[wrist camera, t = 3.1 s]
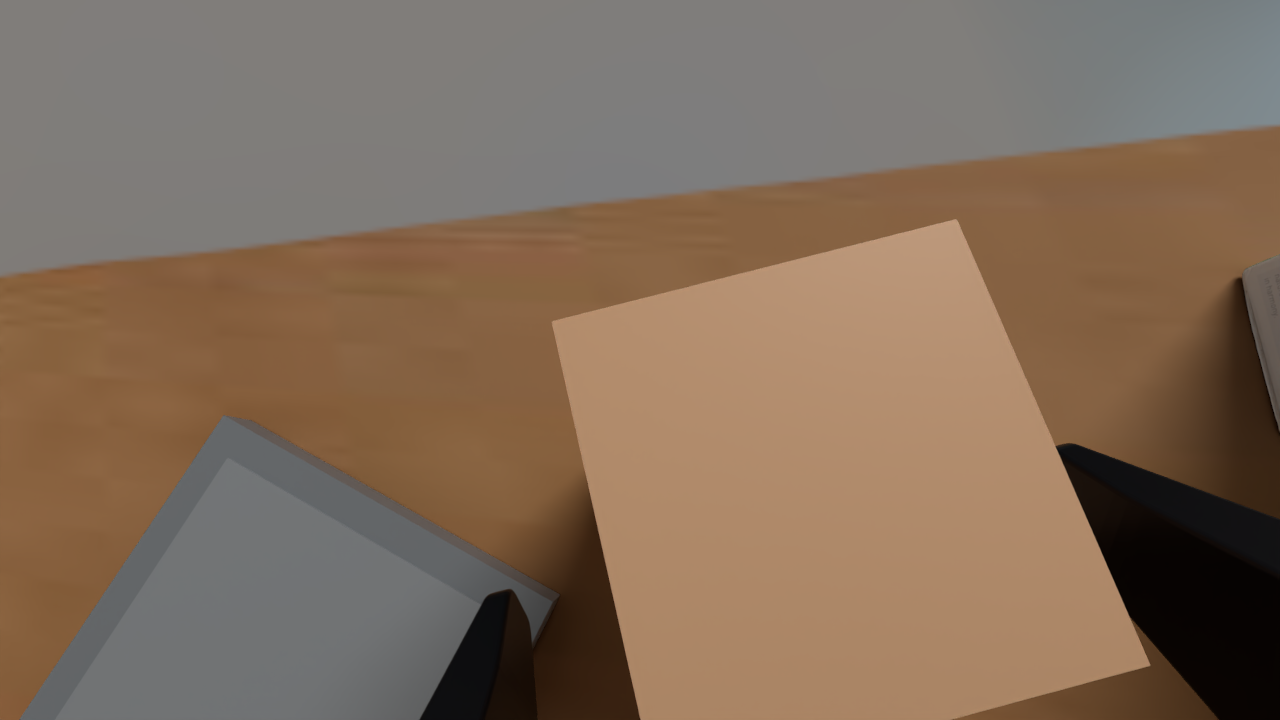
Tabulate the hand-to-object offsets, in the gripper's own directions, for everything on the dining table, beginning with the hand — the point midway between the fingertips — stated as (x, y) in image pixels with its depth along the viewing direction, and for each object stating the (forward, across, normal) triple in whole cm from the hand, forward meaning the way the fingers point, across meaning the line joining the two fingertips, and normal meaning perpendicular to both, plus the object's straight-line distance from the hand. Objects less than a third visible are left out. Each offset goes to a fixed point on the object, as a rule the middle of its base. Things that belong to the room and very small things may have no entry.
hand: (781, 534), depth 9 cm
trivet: (+5, +14, +7) cm, 16 cm away
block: (+7, 0, +6) cm, 9 cm away
